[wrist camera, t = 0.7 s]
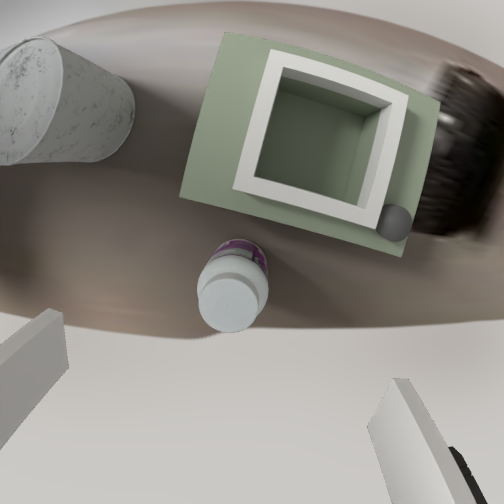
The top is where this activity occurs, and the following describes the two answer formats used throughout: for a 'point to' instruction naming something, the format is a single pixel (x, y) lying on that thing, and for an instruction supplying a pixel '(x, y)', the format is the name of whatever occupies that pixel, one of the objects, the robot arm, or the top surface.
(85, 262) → the top surface
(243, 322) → the pill bottle
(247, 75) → the green open box
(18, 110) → the speckled grey cylinder
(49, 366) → the robot arm
